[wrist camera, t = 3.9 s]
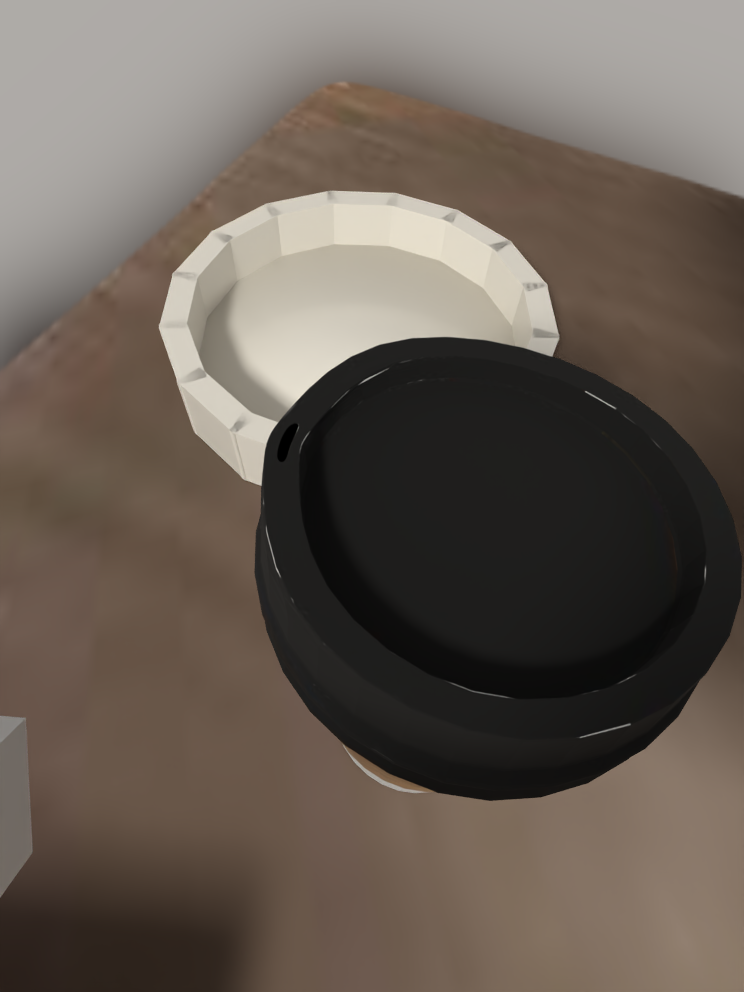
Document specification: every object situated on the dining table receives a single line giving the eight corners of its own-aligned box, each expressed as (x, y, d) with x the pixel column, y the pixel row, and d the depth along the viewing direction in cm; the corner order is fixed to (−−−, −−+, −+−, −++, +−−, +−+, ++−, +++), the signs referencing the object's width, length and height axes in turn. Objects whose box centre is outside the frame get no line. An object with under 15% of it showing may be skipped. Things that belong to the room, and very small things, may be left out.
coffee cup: (333, 578, 25) (322, 273, 12) (537, 626, 24) (753, 354, 11) (268, 797, 20) (141, 685, 8) (514, 865, 20) (828, 865, 7)
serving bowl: (361, 209, 38) (362, 153, 35) (605, 363, 32) (631, 311, 29) (108, 351, 31) (83, 296, 28) (357, 589, 25) (359, 551, 22)
